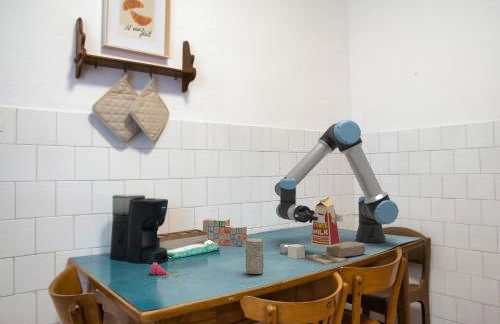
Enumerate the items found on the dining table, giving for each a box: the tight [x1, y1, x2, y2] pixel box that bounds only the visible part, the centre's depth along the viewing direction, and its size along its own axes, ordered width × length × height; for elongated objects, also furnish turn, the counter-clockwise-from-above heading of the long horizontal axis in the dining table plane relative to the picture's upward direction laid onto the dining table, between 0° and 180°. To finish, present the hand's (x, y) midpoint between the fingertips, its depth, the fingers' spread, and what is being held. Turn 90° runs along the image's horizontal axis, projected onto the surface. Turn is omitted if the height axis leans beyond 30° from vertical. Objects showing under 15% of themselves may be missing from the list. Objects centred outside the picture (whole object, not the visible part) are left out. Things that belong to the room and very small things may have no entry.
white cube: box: [287, 243, 306, 260], centre depth 157 cm, size 5×5×5 cm
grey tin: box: [279, 243, 292, 256], centre depth 165 cm, size 5×5×4 cm
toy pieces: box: [150, 262, 181, 280], centre depth 131 cm, size 12×11×4 cm
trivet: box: [304, 252, 349, 265], centre depth 153 cm, size 12×12×1 cm
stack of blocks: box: [202, 218, 248, 248], centre depth 187 cm, size 21×6×12 cm, turn 68°
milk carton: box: [310, 195, 341, 248], centre depth 154 cm, size 9×9×20 cm
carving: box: [244, 237, 265, 275], centre depth 132 cm, size 6×8×12 cm
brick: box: [325, 241, 366, 258], centre depth 161 cm, size 17×8×5 cm, turn 126°
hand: (333, 219), depth 150 cm, fingers closed on milk carton, 8 cm apart
